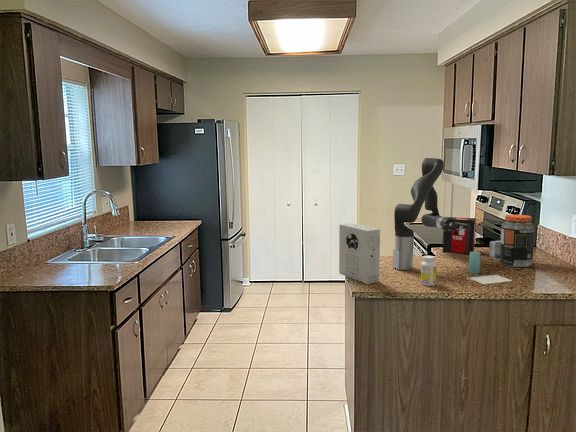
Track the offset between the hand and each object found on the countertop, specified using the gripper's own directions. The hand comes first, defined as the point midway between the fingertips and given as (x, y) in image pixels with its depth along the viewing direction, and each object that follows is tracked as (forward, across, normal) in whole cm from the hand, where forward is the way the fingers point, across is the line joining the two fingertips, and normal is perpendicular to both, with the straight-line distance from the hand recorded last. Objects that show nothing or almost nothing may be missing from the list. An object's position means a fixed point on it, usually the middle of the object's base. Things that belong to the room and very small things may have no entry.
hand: (462, 228), depth 242 cm
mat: (+24, -1, +20) cm, 31 cm away
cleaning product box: (-30, +18, +20) cm, 41 cm away
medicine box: (-16, +33, +20) cm, 42 cm away
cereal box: (+6, -59, +20) cm, 63 cm away
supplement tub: (+3, +30, +20) cm, 37 cm away
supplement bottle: (+24, -32, +20) cm, 45 cm away
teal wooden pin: (+11, 0, +20) cm, 23 cm away
